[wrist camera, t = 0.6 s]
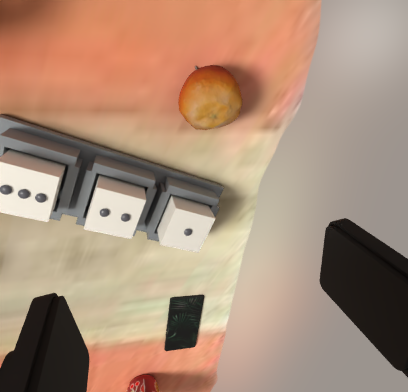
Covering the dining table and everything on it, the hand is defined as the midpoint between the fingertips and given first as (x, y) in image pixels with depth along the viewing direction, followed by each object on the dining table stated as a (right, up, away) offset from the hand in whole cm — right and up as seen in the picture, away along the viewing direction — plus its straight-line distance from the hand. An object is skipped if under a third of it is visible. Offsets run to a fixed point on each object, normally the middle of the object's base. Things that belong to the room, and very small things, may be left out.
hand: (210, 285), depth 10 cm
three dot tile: (-21, +5, +24) cm, 33 cm away
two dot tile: (-12, +3, +28) cm, 31 cm away
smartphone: (-5, -23, +49) cm, 54 cm away
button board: (-13, +4, +32) cm, 34 cm away
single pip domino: (-3, 0, +32) cm, 32 cm away
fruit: (0, +17, +29) cm, 34 cm away
